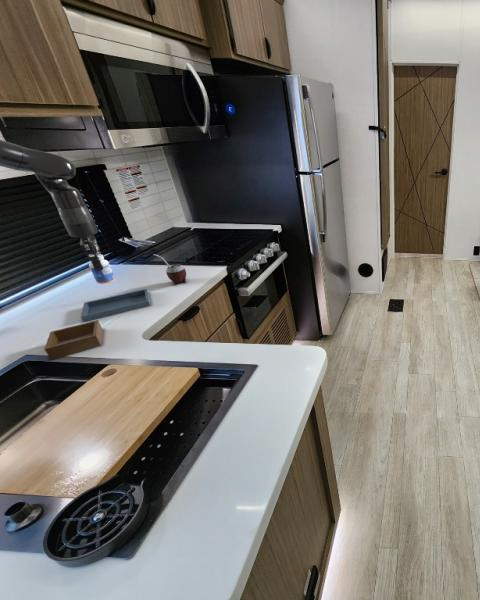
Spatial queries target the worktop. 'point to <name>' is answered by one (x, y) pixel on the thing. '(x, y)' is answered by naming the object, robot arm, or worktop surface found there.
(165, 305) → the worktop surface
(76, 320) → the worktop surface
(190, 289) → the worktop surface
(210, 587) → the worktop surface
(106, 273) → the pill bottle
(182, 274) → the mate gourd
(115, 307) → the tray
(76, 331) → the basket
